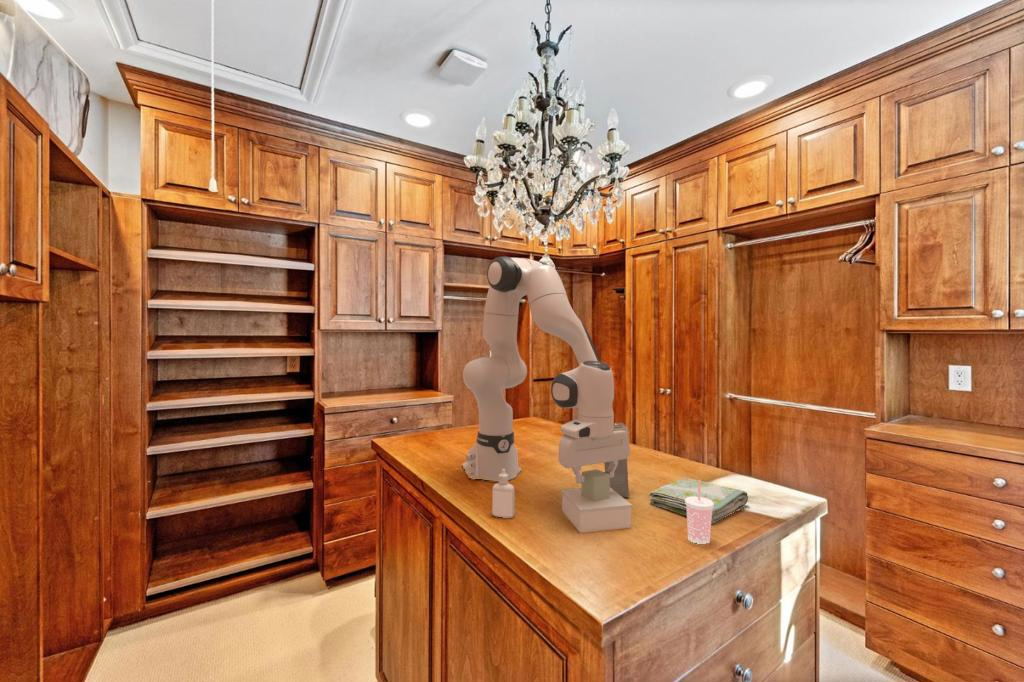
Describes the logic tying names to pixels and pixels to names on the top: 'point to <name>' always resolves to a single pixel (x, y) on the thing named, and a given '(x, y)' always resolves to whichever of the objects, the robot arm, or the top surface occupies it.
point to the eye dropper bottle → (503, 497)
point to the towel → (721, 496)
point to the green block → (595, 485)
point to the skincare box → (619, 478)
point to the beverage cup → (699, 518)
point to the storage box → (596, 511)
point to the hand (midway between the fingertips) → (595, 480)
